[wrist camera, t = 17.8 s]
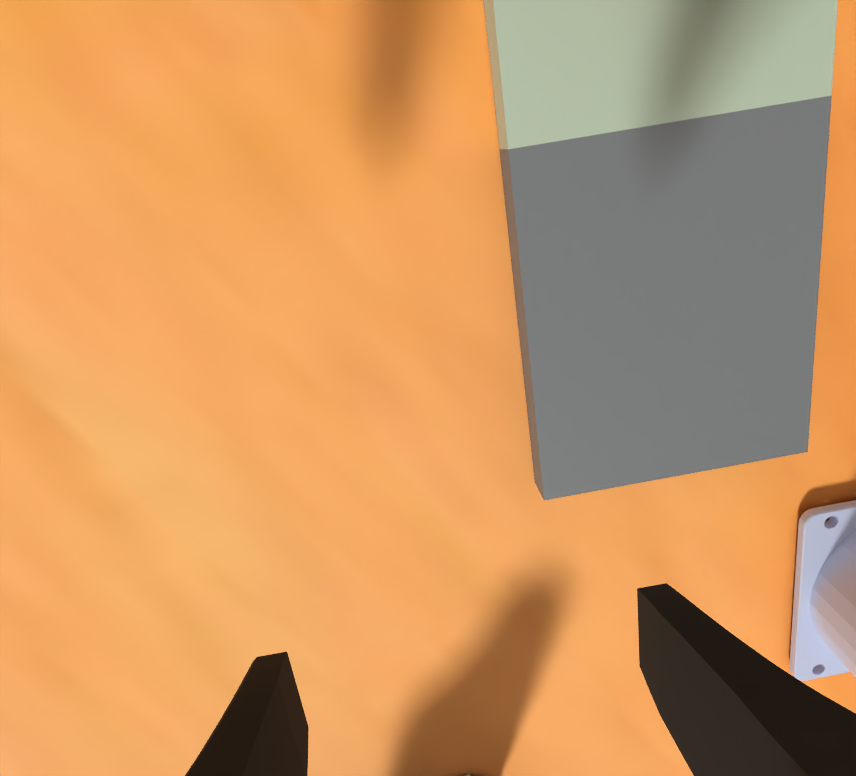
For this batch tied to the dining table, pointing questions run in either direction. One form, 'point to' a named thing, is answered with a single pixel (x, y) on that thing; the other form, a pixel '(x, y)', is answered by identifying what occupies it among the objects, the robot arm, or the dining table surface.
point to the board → (663, 227)
